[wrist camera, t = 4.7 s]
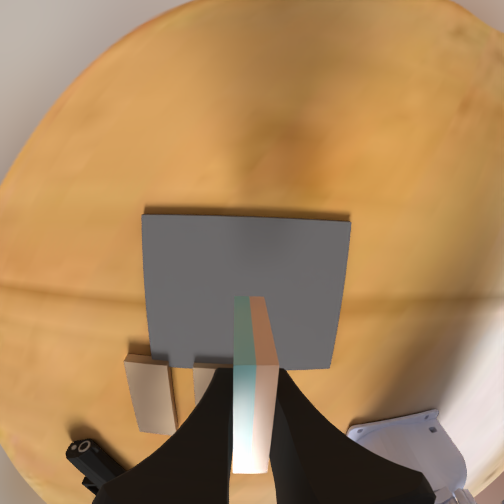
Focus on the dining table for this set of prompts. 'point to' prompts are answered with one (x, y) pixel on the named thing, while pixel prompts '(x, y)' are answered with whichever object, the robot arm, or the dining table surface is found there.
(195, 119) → the dining table surface
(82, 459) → the handgun
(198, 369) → the tile rack
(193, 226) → the mat
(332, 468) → the robot arm
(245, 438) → the tile
